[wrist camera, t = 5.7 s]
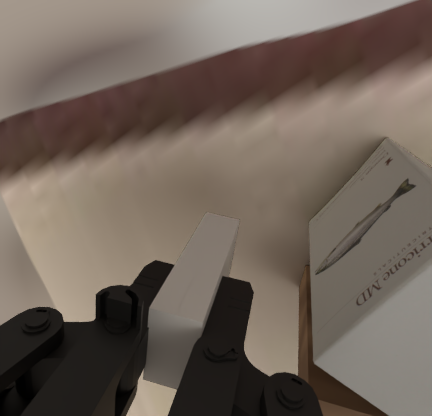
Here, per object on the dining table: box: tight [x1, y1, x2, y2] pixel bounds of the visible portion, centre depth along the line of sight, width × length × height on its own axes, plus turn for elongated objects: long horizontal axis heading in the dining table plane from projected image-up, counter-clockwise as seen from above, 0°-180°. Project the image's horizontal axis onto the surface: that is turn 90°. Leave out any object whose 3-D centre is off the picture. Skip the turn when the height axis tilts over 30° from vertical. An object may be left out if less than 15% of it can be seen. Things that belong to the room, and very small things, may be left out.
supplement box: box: [309, 138, 432, 416], centre depth 17 cm, size 7×7×13 cm
